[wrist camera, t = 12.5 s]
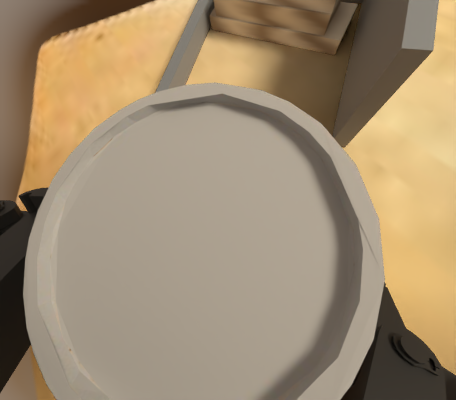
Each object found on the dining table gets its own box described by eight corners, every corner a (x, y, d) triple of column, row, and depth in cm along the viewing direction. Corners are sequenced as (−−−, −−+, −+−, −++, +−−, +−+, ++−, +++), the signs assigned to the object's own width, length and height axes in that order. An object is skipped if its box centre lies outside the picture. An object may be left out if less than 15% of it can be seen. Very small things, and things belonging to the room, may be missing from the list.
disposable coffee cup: (309, 217, 15) (472, 129, 4) (261, 326, 14) (290, 725, 2) (214, 174, 18) (136, 41, 6) (165, 264, 16) (-60, 309, 5)
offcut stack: (349, 23, 24) (379, -48, 18) (333, 57, 23) (359, -6, 17) (230, 4, 28) (223, -59, 22) (212, 32, 27) (200, -26, 21)
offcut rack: (375, -5, 24) (457, -175, 14) (344, 147, 19) (433, 50, 10) (215, -7, 29) (195, -135, 19) (162, 113, 24) (101, 27, 15)
